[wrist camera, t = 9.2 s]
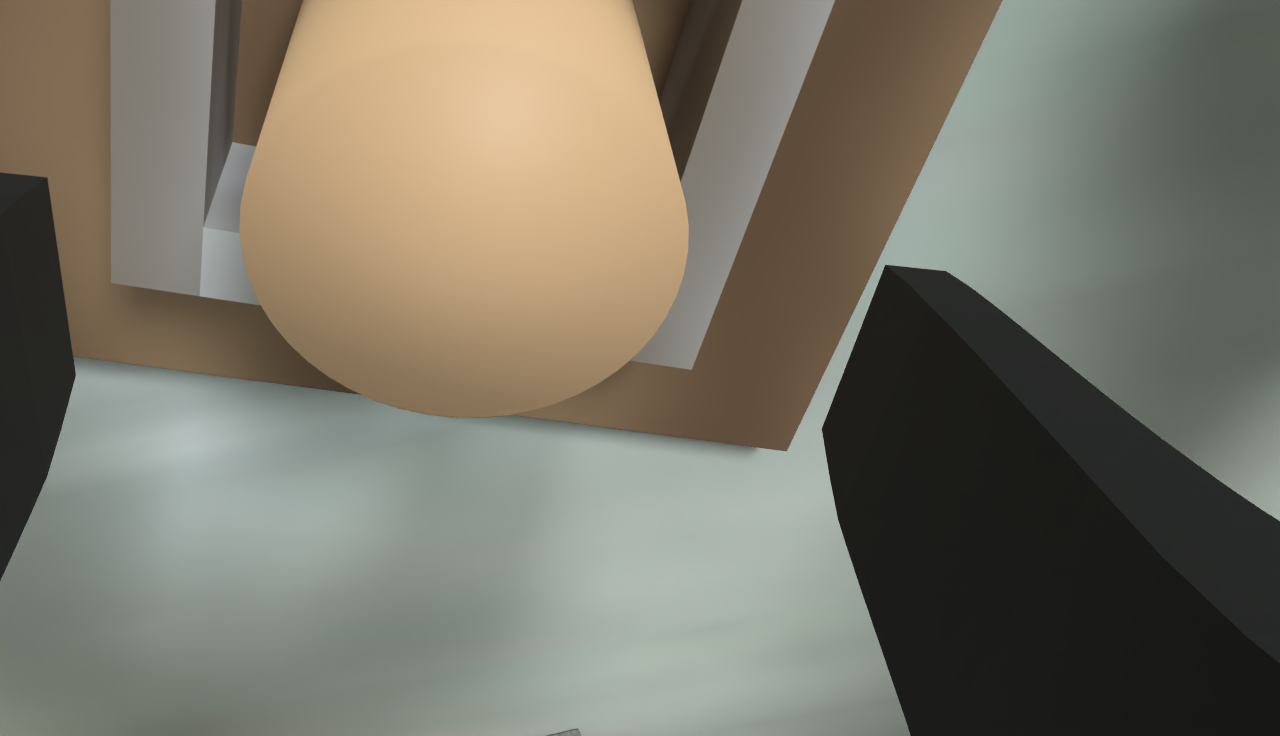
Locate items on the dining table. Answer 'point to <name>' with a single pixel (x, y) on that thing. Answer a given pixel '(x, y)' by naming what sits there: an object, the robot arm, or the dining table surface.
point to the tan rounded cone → (465, 200)
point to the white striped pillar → (569, 733)
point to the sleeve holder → (699, 137)
